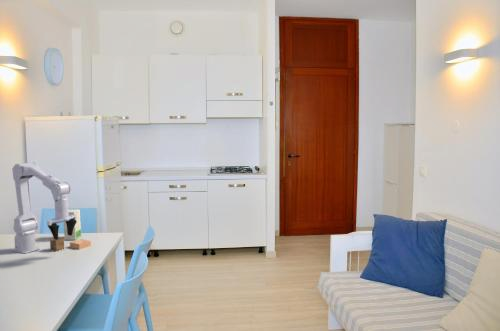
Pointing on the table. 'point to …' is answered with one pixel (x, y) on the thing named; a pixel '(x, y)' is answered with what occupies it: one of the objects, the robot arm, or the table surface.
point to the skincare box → (77, 227)
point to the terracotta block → (80, 244)
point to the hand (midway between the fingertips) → (63, 237)
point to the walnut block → (57, 244)
